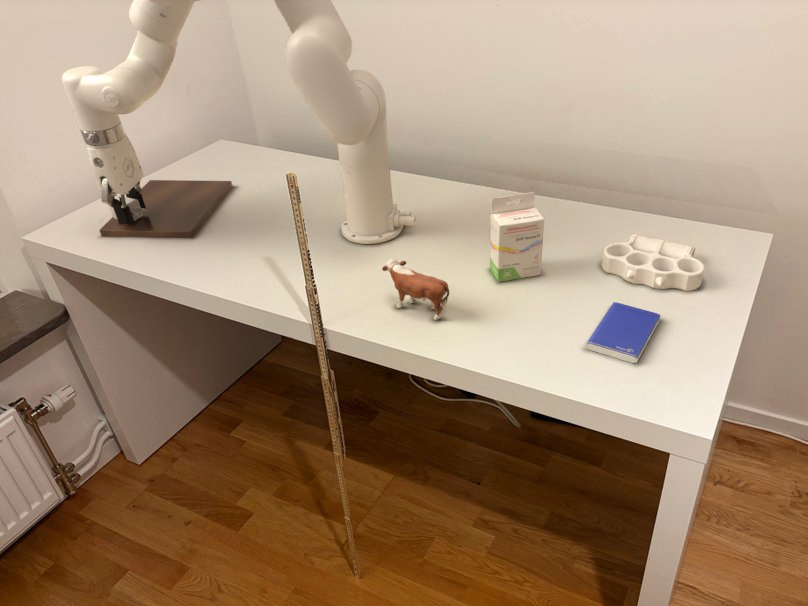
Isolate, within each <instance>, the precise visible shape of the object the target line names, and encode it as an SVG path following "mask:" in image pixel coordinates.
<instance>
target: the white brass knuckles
mask: <svg viewBox="0 0 808 606" xmlns="http://www.w3.org/2000/svg"><path fill="white" fill-rule="evenodd" d="M695 251H696V247H695V246H693V245H686V244H681V243H676V242H671V241H667V240H665V239H657V238H653V237H648V236H644V235H643V236H642V235H639V234H636V233H634V234H632V235H631V236H630V238H629V240H628V241H626V242H614V243H613V242H612V243H609V244H608V245H606V246H604V248H603V251H602V257H601V268H602V271H604V272H605V273H607V274H611V275H616V276H619V277H621V278H623V280H625V281H627V282H629V283H631V284H634V285H644V286H648V287H650V288H652V289H659V290H665V289H666V290H667V289H678V290H682V291H685V292H690V291H695V290H697V289H698V288H700V287H701V284H702V281H703V277H704V273H705V265H704V264H703V263H702V262H701V260H699V259H697V258H694V255H695V253H696V252H695Z"/></svg>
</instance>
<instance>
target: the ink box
mask: <svg viewBox="0 0 808 606" xmlns="http://www.w3.org/2000/svg"><path fill="white" fill-rule="evenodd" d="M535 198H536V192H534V191H530V192H524V193H516V194H510V195H504V196H498V197H493V198H492V199H491V214H490V235H489V237H490V239H489V240H490V242H489V243H490V244H489V249H490V250H489V255H490V256H489V270H490V271H491V273H492V274H493V276H494V278H495V279H496V280H497V282H498V283H502V282H506V281H512V280H517V279H523V278H529V277H536V276H540V275H542V262H543V261H542V260H543V247H544V231H545V217H544V216H543V215H542V214H541V213H540V211H539V210H538V209H537V208H536V207H535ZM513 200H515V201H520V202H515V203H510V204H507V203H509V202H511V201H513Z"/></svg>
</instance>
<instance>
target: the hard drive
mask: <svg viewBox="0 0 808 606" xmlns="http://www.w3.org/2000/svg"><path fill="white" fill-rule="evenodd" d="M660 321H661V314H659V313H657V312H654V311H650V310H646V309H642V308H639V307H635V306H631V305H628V304H624V303H620V302H616V301H613V302H612V304H611V305H610V307H609V308H608V310H607V311H606V313H605V314H604V316H603V317H602V319H601V321H600V322H599V323H598V325H597V326H596V328H595V330H594V331H593V332H592V334H591V336H590V337H589V338H588V340H587V341H586V346H585V348H586V349H587V350H589V351H592V352H595V353H598V354H602V355H605V356H608V357H612V358H615V359H618V360H621V361H625V362H627V363H632V364H637V363H638V361H639V359H640V358H641V355H642V354H643V352H644V350H645V348H646V347H647V344H648V342H649V341H650V339H651V337H652V335H653V333H654V332H655V330H656V328H657V326H658V324H659V322H660Z"/></svg>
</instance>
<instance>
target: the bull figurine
mask: <svg viewBox="0 0 808 606" xmlns="http://www.w3.org/2000/svg"><path fill="white" fill-rule="evenodd" d="M406 264H407V260H401V261H398V260H397V259H396V258H392V259H389V260H388V261H387V262H386V265H384V266H382V268H381V270H382V271H383V272H386V271H387V272H388V273H389V274H390V277H391V279H392V281H393V283H394V288H395V289H396V290H397V292H398V303H397V304H396V305H395V308H396V309H397V310H399V309H402V308H403V307H404V303H403V302H404V300H405V297H406V296H409V297H410V300H409V304H410V305H411V304H414V303H416V302H417V300H422V301H423V302H426V300H429V301H430V302H431V303H432V306H430V310H432V311H435V315H434V317H433V318H432V319H433V320H434V321H438V320H439V319H441V317H442V316H441V312H442V311H443V308H445V307H446V306H447V303H448V298H449V297H450V289H449V284H448V282H447V281H445V280H443V279H440V278H438V277H437V278H436V277H435V276H433V275H431V276H430V275H425V274H423V273H420V272H416V271H415V270H413V269H410V268H406V267H405V265H406ZM444 296H445V297H444Z"/></svg>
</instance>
